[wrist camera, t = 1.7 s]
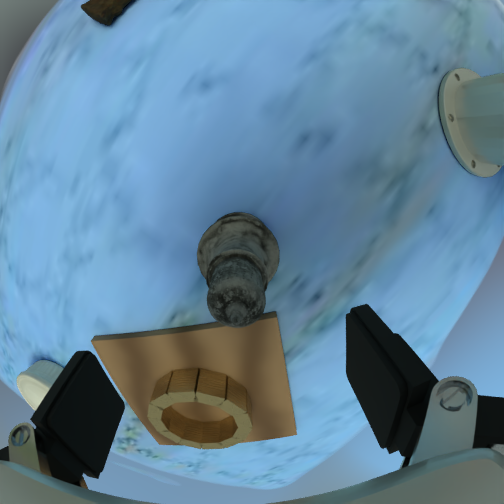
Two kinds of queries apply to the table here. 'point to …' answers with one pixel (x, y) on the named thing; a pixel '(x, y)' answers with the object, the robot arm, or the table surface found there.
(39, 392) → the ramekin
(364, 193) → the table surface
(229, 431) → the wooden ring
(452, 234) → the table surface
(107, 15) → the brown long rounded piece
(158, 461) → the table surface
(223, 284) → the stone chess piece
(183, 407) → the wooden board
